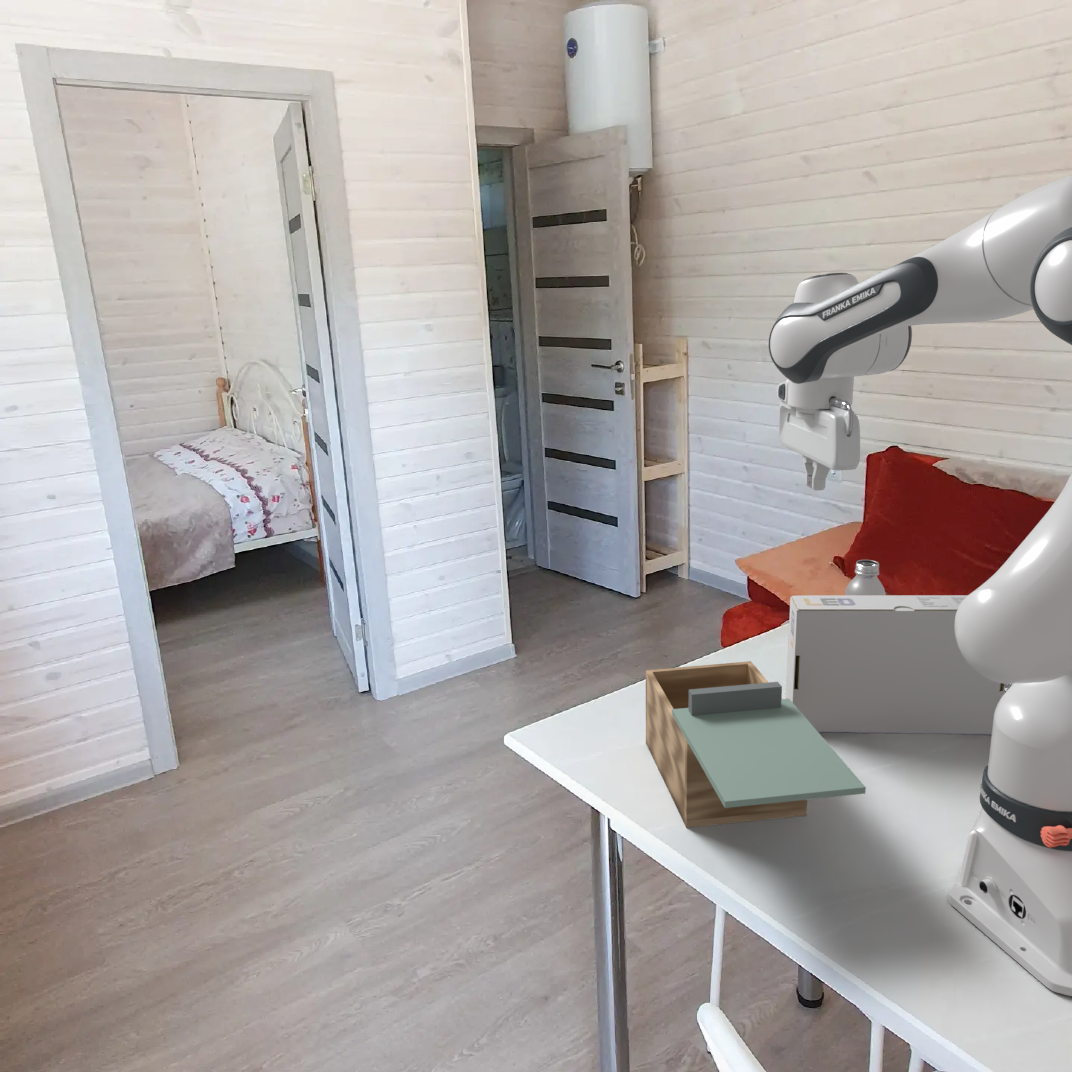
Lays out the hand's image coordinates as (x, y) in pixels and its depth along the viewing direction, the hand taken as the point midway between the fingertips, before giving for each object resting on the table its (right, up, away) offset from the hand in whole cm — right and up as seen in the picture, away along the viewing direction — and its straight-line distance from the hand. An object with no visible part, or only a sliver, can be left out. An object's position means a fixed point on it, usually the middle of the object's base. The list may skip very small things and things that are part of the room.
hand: (815, 488), depth 133 cm
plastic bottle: (+16, -31, +26) cm, 43 cm away
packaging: (+14, -36, +8) cm, 40 cm away
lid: (-13, -33, -22) cm, 42 cm away
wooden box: (-15, -41, -5) cm, 44 cm away
